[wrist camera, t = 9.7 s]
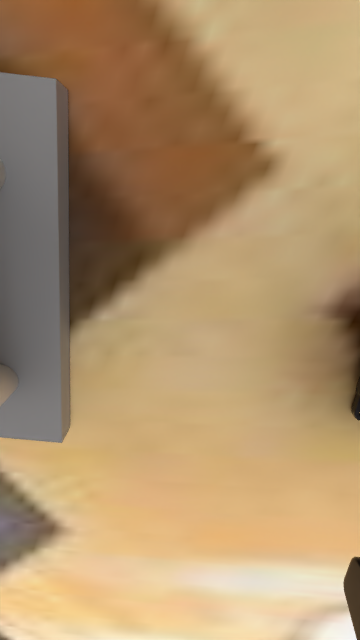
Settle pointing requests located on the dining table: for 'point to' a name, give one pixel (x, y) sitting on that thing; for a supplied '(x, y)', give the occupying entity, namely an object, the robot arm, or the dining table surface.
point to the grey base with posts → (34, 259)
